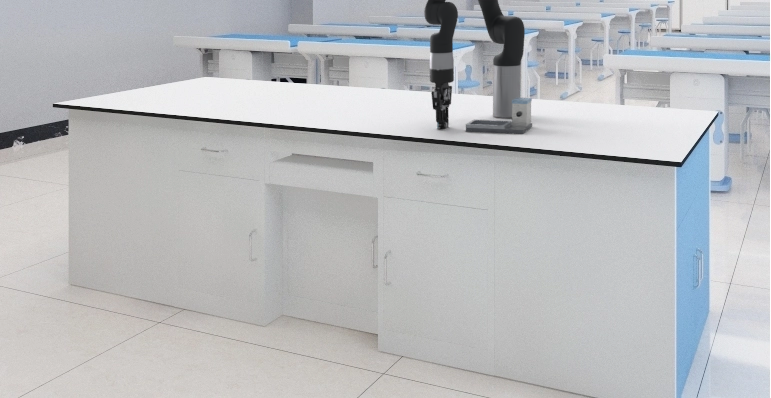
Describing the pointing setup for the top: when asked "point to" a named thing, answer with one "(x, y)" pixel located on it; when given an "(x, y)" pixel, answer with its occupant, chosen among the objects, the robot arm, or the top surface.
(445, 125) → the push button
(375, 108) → the top surface
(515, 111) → the base
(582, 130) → the top surface
